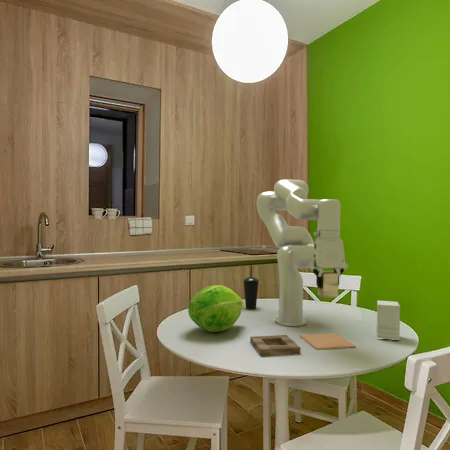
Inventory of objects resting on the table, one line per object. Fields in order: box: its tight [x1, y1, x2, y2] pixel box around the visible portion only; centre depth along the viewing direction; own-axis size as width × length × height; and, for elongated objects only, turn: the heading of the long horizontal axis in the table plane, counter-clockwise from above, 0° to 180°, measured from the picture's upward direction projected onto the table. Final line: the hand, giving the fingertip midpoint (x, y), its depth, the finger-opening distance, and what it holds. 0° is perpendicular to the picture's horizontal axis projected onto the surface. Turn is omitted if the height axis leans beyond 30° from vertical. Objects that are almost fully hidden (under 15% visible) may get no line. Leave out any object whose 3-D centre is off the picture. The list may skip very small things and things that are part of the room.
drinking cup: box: [242, 265, 260, 310], centre depth 181 cm, size 8×8×20 cm
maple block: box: [317, 271, 339, 298], centre depth 133 cm, size 5×5×8 cm
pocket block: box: [249, 334, 301, 357], centre depth 127 cm, size 13×13×2 cm
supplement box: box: [376, 300, 401, 341], centre depth 139 cm, size 7×7×13 cm
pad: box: [299, 332, 357, 351], centre depth 134 cm, size 14×14×1 cm
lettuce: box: [187, 284, 246, 333], centre depth 146 cm, size 19×25×17 cm
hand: (327, 287), depth 134 cm, fingers closed on maple block, 5 cm apart
